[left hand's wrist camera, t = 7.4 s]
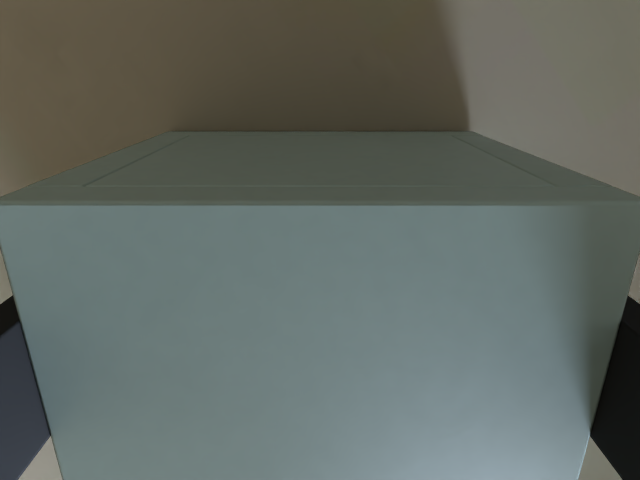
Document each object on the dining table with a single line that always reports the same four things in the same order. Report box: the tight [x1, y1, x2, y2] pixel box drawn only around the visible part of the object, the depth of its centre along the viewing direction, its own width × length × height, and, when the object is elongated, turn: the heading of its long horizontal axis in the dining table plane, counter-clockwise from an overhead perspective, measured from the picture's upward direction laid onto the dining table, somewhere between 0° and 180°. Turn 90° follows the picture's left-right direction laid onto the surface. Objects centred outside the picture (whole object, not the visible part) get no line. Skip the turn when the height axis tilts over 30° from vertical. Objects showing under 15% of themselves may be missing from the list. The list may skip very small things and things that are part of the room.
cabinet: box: [0, 132, 640, 480], centre depth 15 cm, size 19×11×9 cm, turn 0°
